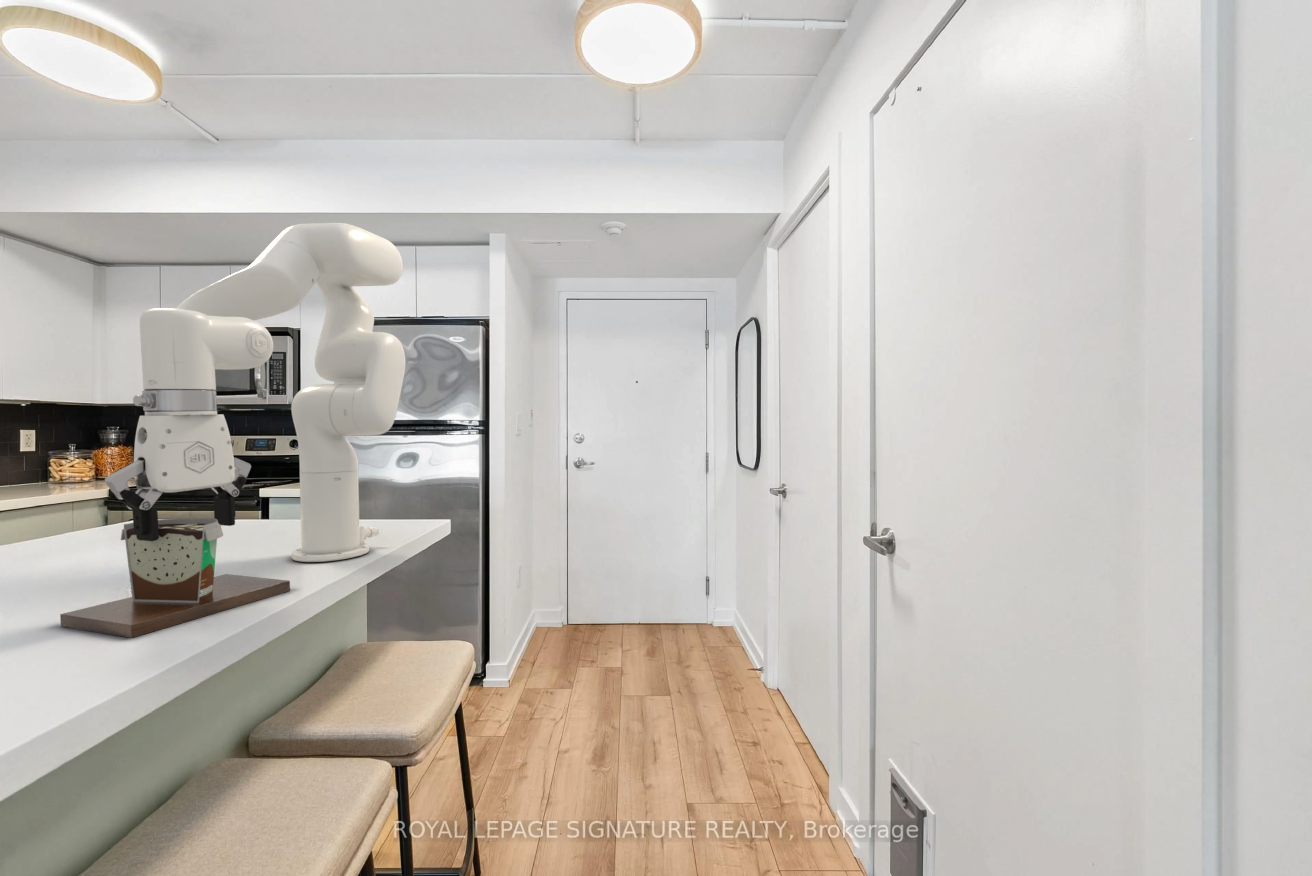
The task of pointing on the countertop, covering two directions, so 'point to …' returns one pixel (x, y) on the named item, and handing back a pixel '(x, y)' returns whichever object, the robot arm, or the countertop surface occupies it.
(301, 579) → the countertop surface
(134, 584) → the food container
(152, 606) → the cutting board
